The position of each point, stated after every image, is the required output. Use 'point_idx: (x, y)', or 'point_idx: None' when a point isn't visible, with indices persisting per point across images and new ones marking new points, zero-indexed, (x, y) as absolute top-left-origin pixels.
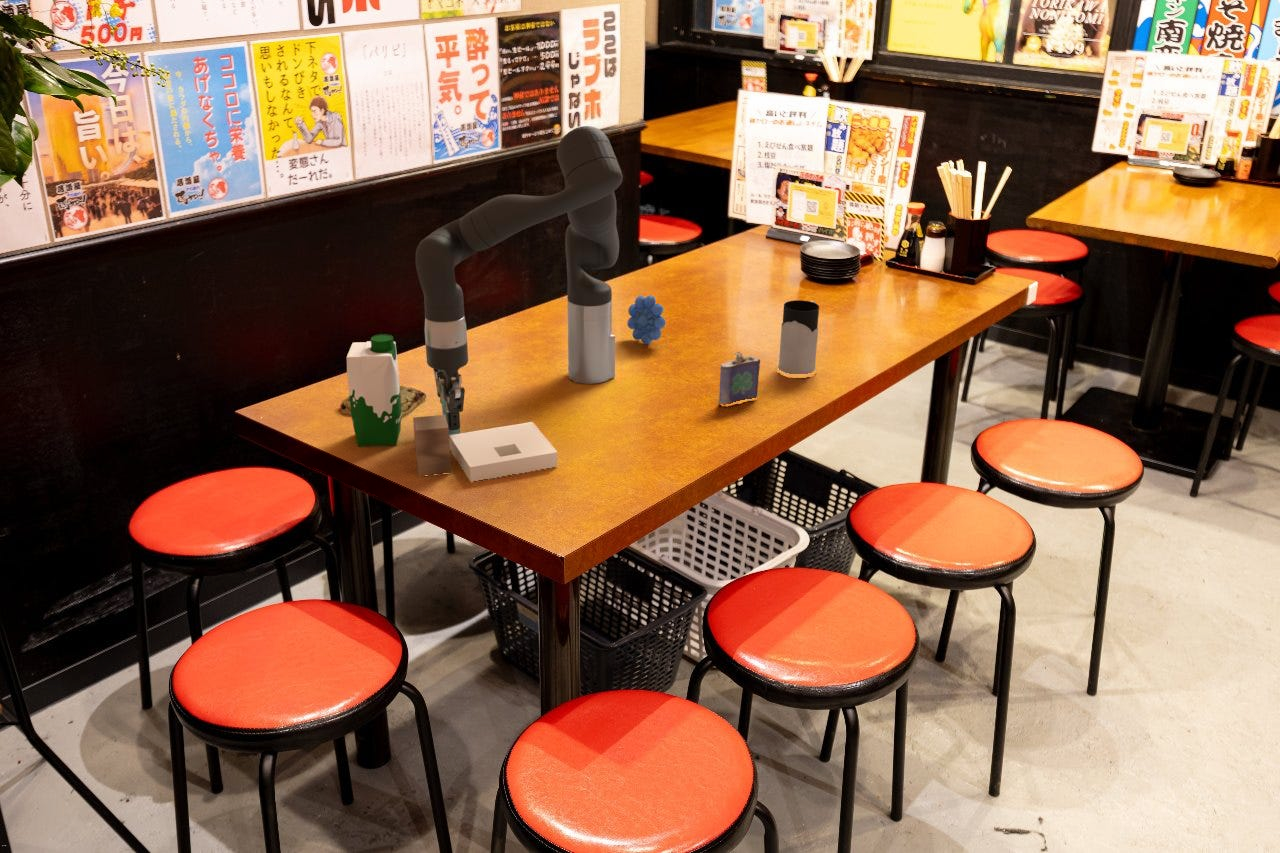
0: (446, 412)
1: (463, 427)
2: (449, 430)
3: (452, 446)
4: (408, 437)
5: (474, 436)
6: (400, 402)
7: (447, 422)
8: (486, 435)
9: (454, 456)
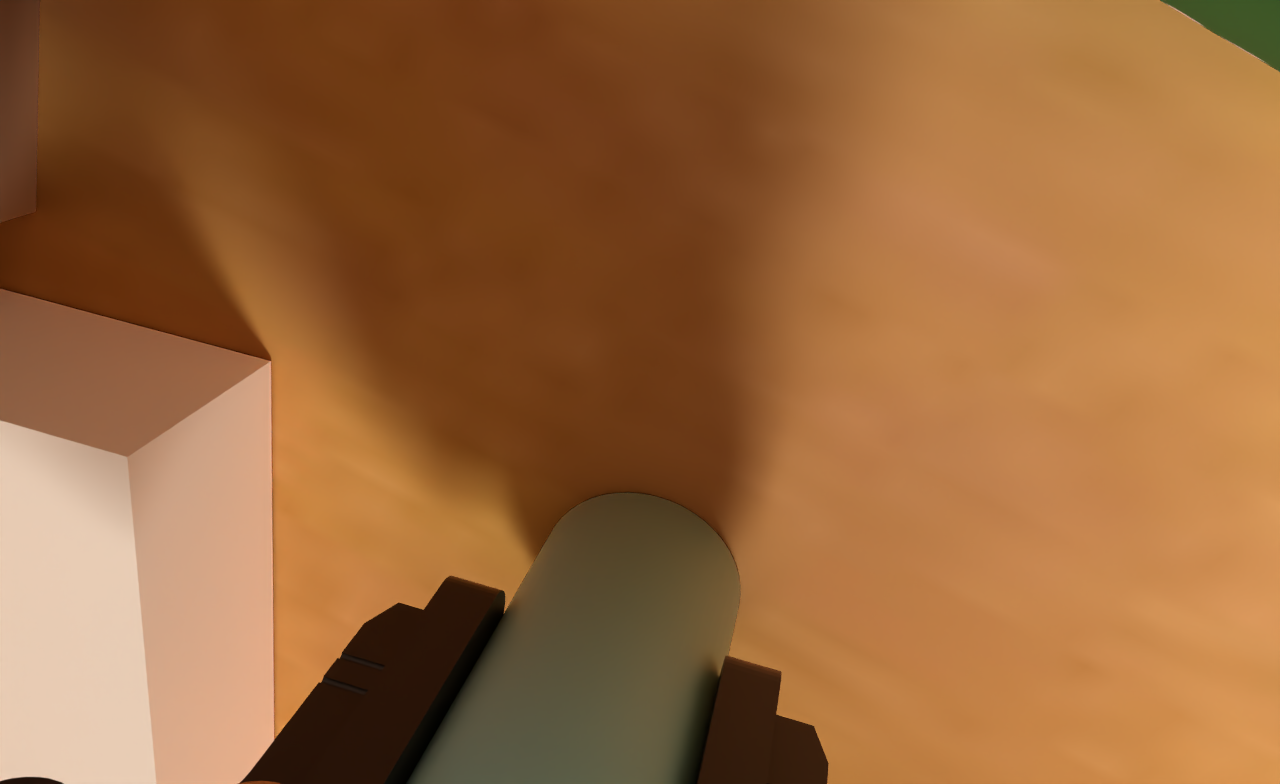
0: None
1: None
2: (526, 584)
3: (57, 369)
4: (963, 65)
5: (11, 665)
6: (1259, 25)
7: (462, 650)
8: (2, 763)
9: (77, 312)
